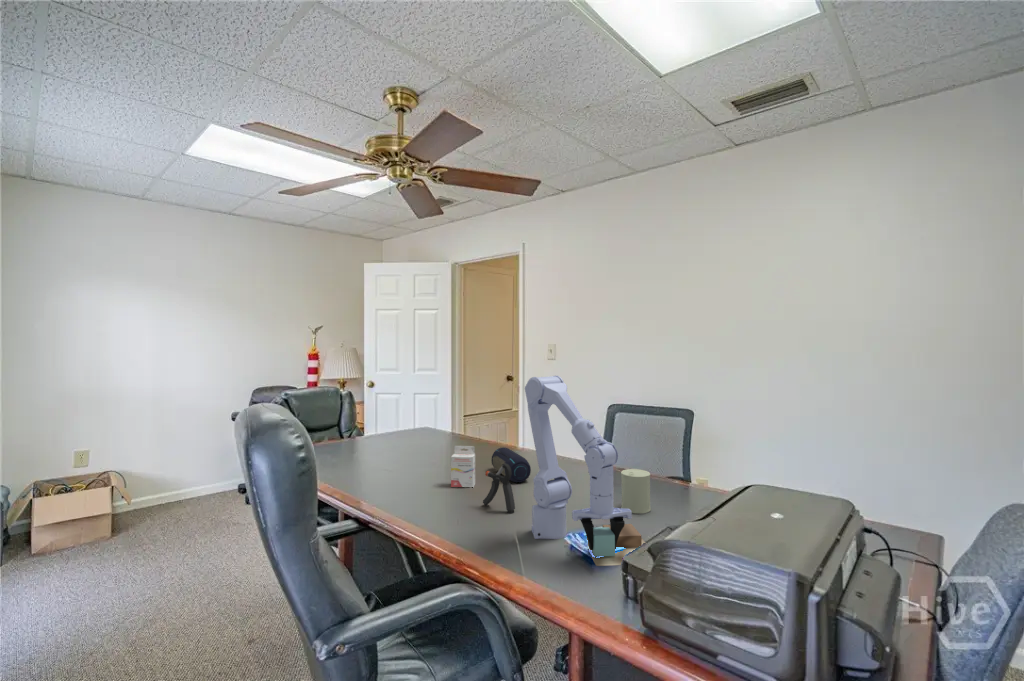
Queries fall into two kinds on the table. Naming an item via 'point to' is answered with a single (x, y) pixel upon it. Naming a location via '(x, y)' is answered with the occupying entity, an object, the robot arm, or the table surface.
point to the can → (636, 490)
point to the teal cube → (603, 542)
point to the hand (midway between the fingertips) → (602, 548)
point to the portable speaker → (511, 464)
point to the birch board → (613, 558)
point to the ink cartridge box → (463, 467)
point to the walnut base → (628, 537)
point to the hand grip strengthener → (506, 487)
